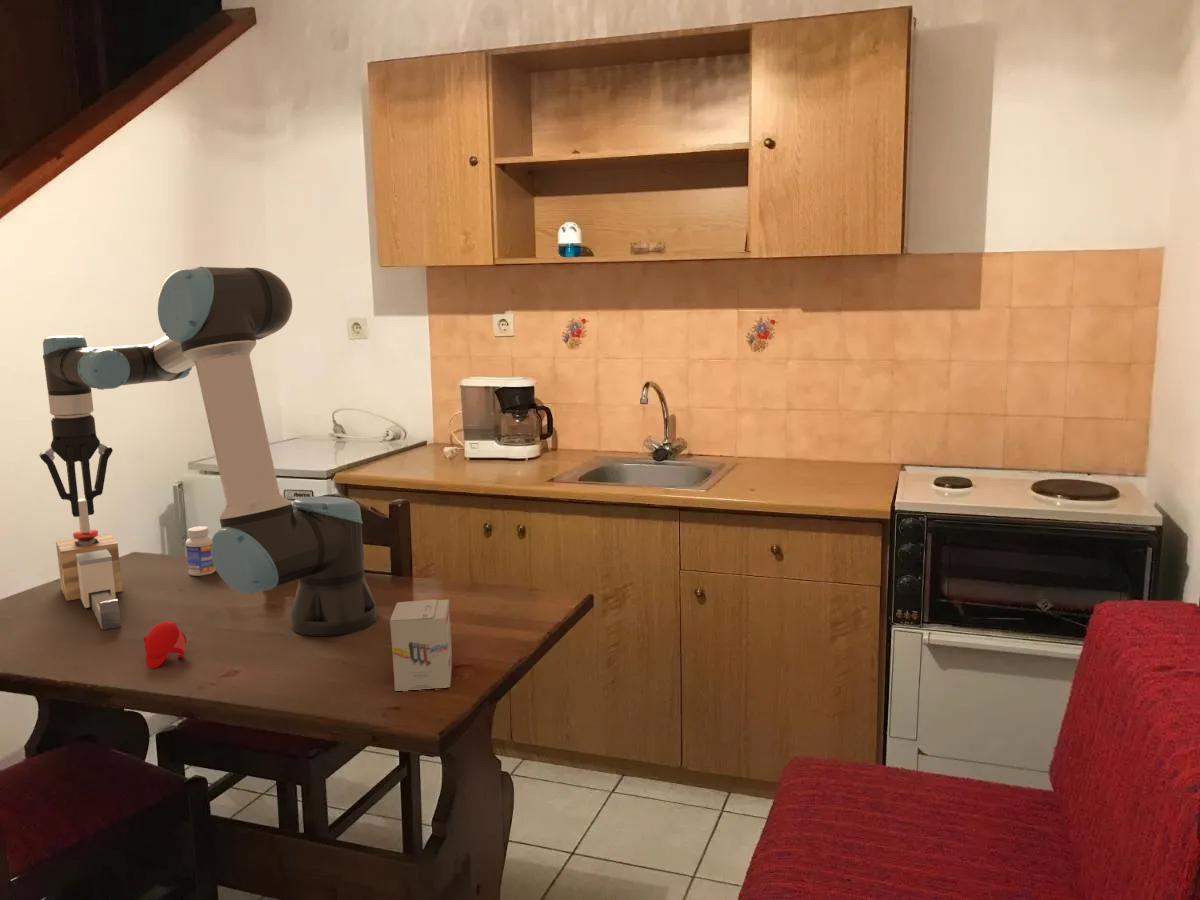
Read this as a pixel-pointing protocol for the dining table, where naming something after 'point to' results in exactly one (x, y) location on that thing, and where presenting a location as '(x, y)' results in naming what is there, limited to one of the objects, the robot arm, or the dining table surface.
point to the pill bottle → (199, 552)
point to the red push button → (85, 537)
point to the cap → (163, 643)
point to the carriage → (95, 574)
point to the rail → (105, 609)
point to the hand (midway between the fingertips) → (85, 531)
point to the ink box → (421, 645)
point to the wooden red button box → (69, 563)
